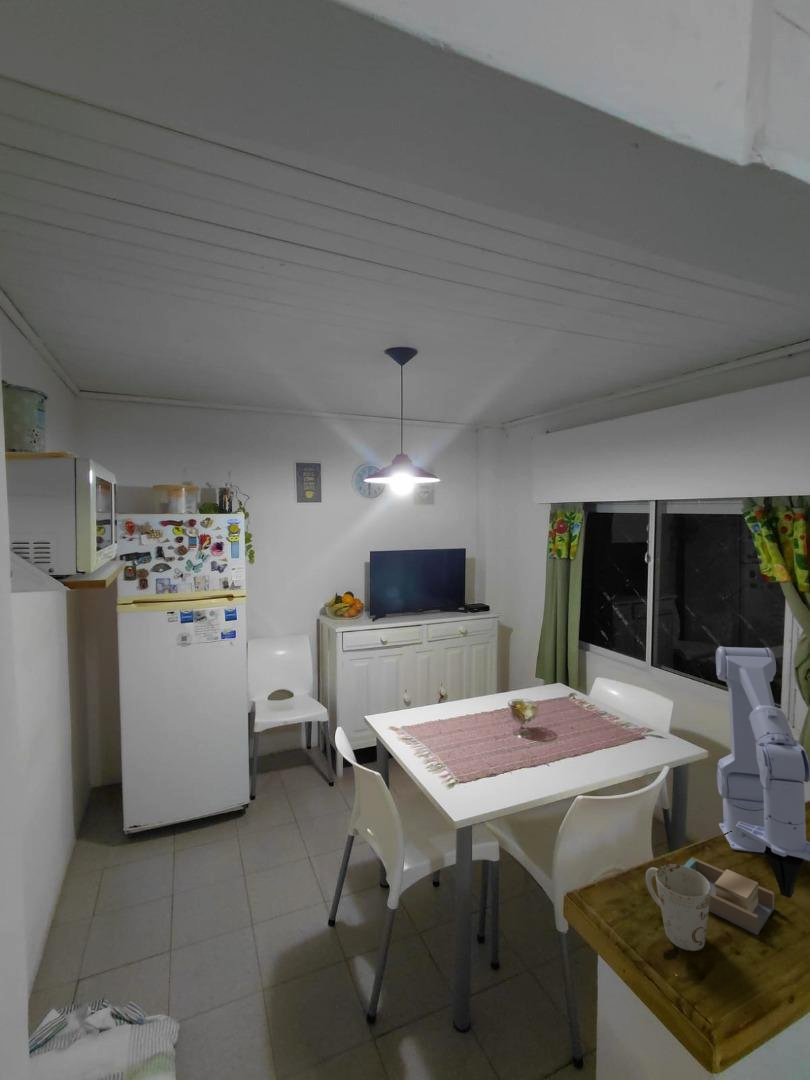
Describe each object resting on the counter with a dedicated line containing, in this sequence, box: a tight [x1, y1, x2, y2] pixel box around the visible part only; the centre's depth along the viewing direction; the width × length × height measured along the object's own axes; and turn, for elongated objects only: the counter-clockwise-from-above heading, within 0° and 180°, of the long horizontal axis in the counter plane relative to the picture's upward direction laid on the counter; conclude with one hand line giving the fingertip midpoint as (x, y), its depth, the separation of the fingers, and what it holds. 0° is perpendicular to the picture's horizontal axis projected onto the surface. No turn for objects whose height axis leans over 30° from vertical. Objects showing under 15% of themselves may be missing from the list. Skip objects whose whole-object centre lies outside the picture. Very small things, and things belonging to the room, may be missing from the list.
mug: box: [645, 863, 711, 952], centre depth 91 cm, size 8×13×10 cm, turn 22°
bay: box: [683, 856, 775, 936], centre depth 97 cm, size 14×9×3 cm, turn 39°
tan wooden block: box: [715, 868, 759, 913], centre depth 95 cm, size 5×6×4 cm
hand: (787, 893), depth 89 cm, fingers closed
